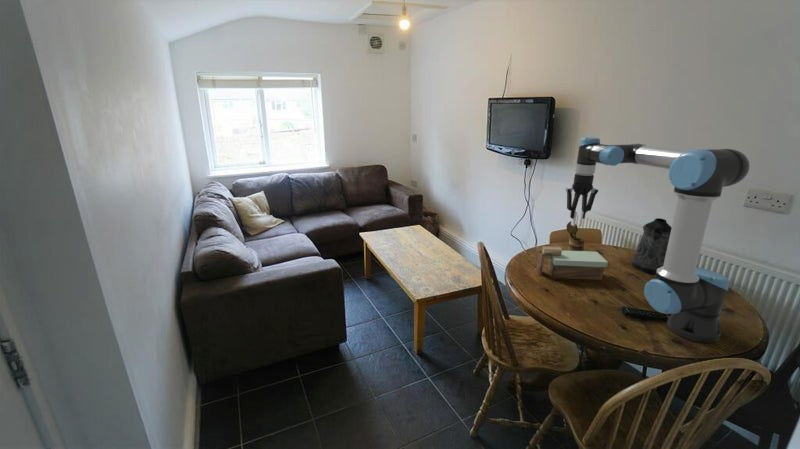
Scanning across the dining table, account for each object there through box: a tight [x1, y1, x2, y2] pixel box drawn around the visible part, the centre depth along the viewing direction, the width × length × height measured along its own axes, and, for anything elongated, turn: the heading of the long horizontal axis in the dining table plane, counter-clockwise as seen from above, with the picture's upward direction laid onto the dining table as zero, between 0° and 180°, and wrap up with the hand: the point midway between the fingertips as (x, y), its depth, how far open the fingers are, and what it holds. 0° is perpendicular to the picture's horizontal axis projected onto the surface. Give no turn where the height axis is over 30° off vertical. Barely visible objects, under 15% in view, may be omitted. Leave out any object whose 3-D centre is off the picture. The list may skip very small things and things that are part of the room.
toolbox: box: [536, 249, 605, 281], centre depth 177 cm, size 10×28×10 cm, turn 85°
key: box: [541, 245, 563, 255], centre depth 176 cm, size 3×8×3 cm, turn 85°
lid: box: [550, 249, 609, 268], centre depth 176 cm, size 12×23×2 cm, turn 85°
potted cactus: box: [566, 220, 585, 251], centre depth 194 cm, size 9×14×18 cm, turn 4°
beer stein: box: [631, 217, 672, 275], centre depth 181 cm, size 16×19×25 cm
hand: (576, 225), depth 171 cm, fingers open, 2 cm apart
